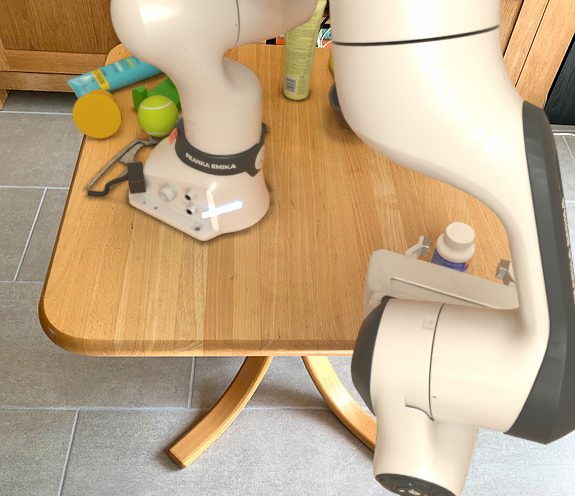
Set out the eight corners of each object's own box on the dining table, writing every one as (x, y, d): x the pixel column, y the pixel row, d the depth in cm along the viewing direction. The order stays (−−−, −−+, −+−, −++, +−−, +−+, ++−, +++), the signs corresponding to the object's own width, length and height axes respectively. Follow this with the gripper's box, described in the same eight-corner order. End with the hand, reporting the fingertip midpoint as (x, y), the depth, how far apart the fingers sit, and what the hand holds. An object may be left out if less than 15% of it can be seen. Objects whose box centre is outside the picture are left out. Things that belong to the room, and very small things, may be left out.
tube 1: (172, 52, 115) (74, 89, 110) (178, 75, 119) (83, 112, 114) (157, 37, 120) (62, 72, 115) (163, 60, 124) (72, 94, 118)
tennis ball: (127, 100, 101) (146, 89, 107) (133, 141, 105) (151, 128, 111) (165, 102, 100) (183, 91, 106) (170, 144, 103) (187, 130, 109)
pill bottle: (461, 294, 89) (481, 251, 82) (424, 287, 90) (440, 243, 82) (462, 266, 93) (481, 222, 85) (426, 259, 93) (442, 214, 86)
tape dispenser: (184, 71, 121) (182, 50, 118) (213, 83, 119) (212, 62, 116) (133, 108, 113) (129, 87, 109) (163, 123, 110) (161, 101, 107)
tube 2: (300, 81, 121) (308, -15, 107) (316, 94, 119) (327, -2, 104) (277, 90, 119) (282, -7, 104) (293, 104, 116) (300, 6, 102)
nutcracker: (84, 189, 99) (110, 200, 98) (83, 185, 98) (109, 197, 97) (140, 133, 109) (165, 142, 108) (140, 129, 108) (164, 139, 107)
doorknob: (120, 96, 103) (70, 92, 101) (121, 140, 107) (73, 137, 106) (124, 80, 109) (77, 77, 108) (125, 122, 113) (79, 120, 112)
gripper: (561, 362, 58) (567, 259, 67) (354, 297, 62) (385, 208, 71) (537, 394, 63) (545, 295, 72) (346, 332, 67) (376, 245, 76)
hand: (464, 251), depth 71 cm, fingers open, 8 cm apart
